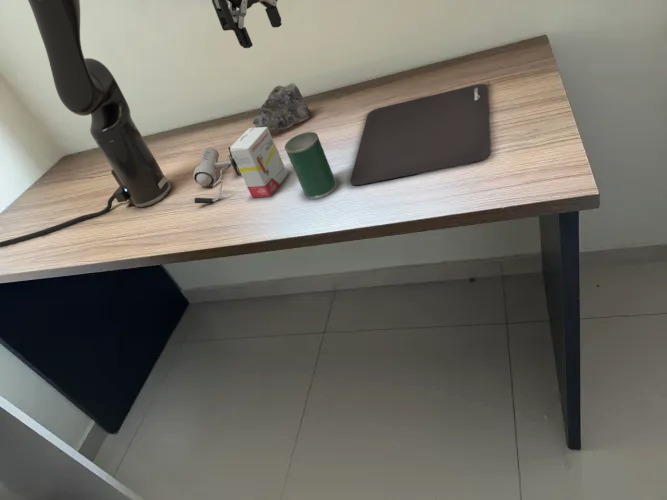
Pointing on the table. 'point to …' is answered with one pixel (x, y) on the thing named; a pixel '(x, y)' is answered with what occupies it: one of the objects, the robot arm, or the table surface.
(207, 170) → the clip-on lamp
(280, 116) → the mineral rock
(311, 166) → the tin can
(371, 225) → the table surface
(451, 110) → the mouse pad
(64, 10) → the robot arm
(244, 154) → the ink box
